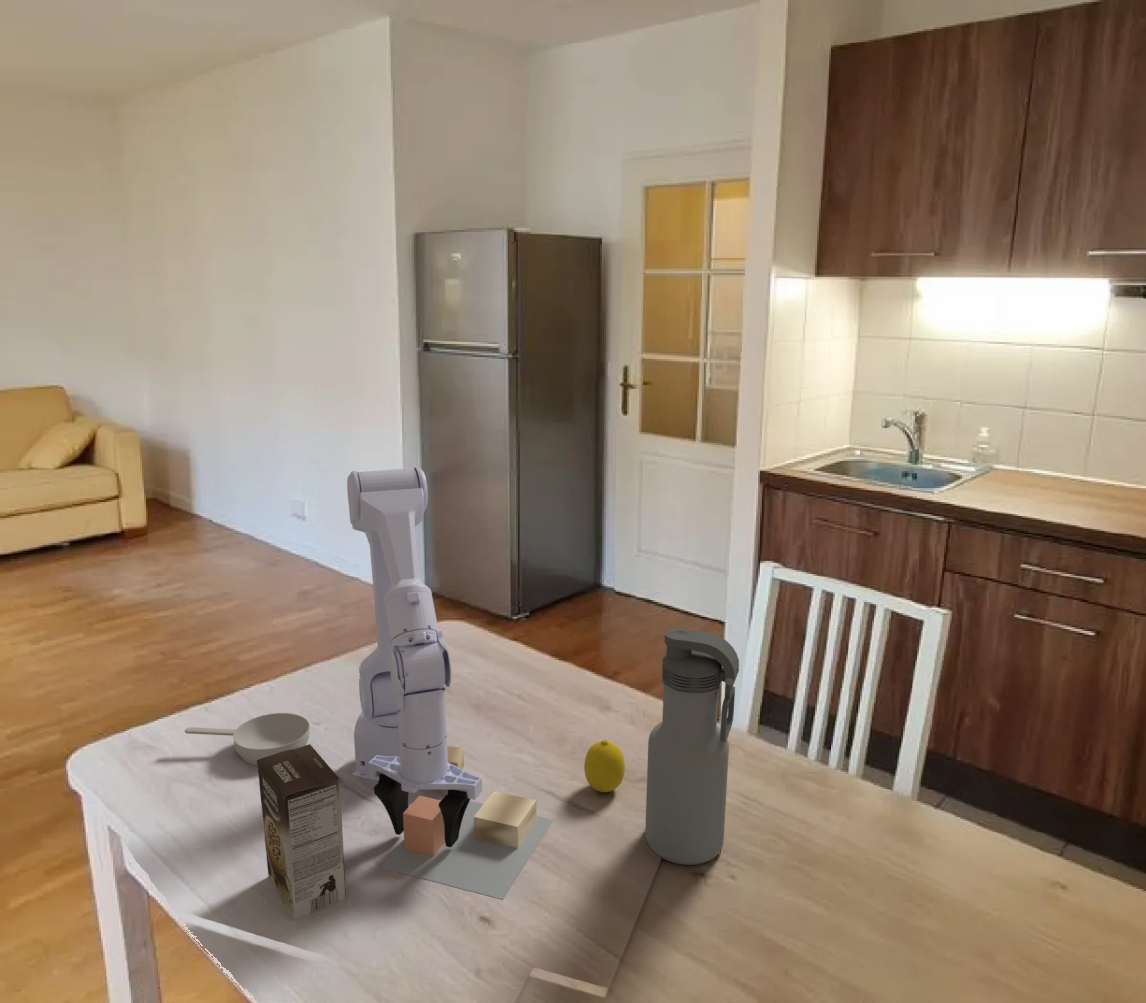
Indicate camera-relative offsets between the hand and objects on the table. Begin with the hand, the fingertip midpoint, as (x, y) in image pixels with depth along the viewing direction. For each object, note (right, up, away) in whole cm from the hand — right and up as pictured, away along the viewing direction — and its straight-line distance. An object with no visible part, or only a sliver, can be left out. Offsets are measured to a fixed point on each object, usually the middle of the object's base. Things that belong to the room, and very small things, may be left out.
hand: (426, 836), depth 109 cm
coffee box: (-13, -4, -8) cm, 15 cm away
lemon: (+22, +1, +12) cm, 26 cm away
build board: (+5, -2, +1) cm, 6 cm away
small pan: (-30, +4, +22) cm, 38 cm away
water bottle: (+32, -2, +2) cm, 32 cm away
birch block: (+1, +2, +14) cm, 14 cm away
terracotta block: (0, -1, 0) cm, 1 cm away
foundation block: (+10, 0, +3) cm, 10 cm away
